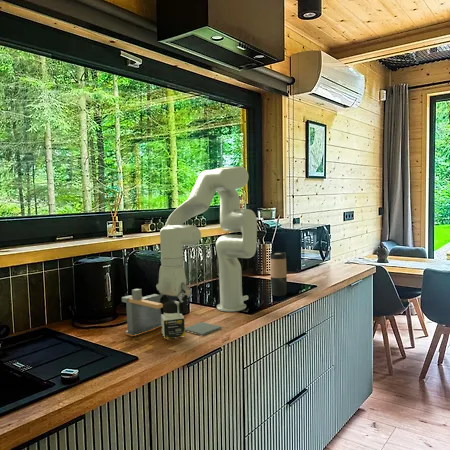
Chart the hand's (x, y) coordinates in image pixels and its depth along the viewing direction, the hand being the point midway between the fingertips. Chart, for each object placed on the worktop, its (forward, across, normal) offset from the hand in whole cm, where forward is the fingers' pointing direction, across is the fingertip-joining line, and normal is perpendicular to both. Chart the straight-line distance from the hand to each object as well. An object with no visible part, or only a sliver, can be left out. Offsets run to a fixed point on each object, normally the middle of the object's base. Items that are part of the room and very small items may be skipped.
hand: (174, 310), depth 150 cm
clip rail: (+9, -12, -3) cm, 16 cm away
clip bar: (-4, -5, -10) cm, 12 cm away
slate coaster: (+9, +4, +10) cm, 14 cm away
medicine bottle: (+9, 0, -1) cm, 9 cm away
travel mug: (+9, -3, +70) cm, 71 cm away
